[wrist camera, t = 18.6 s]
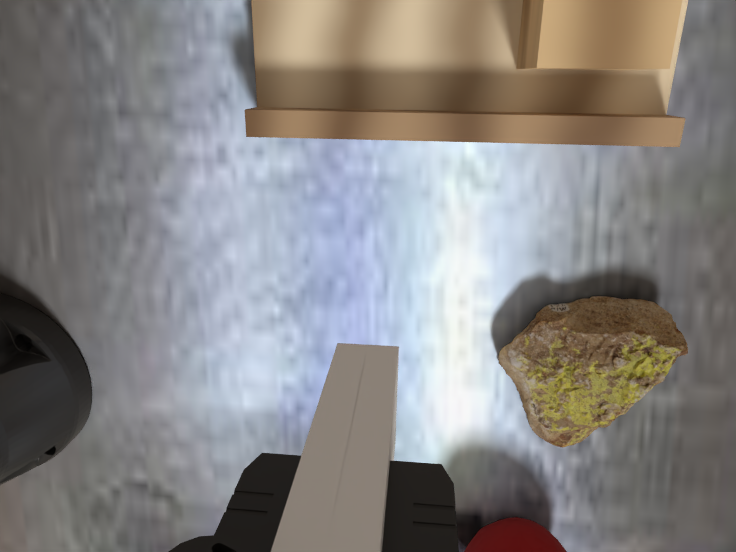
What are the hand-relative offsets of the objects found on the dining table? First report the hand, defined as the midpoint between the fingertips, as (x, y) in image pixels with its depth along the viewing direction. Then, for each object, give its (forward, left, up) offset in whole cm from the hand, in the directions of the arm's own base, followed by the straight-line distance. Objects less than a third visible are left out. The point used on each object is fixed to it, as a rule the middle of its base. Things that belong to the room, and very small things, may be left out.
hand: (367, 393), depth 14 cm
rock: (+13, -12, -25) cm, 30 cm away
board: (+3, +10, -24) cm, 27 cm away
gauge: (+9, +12, -22) cm, 27 cm away
